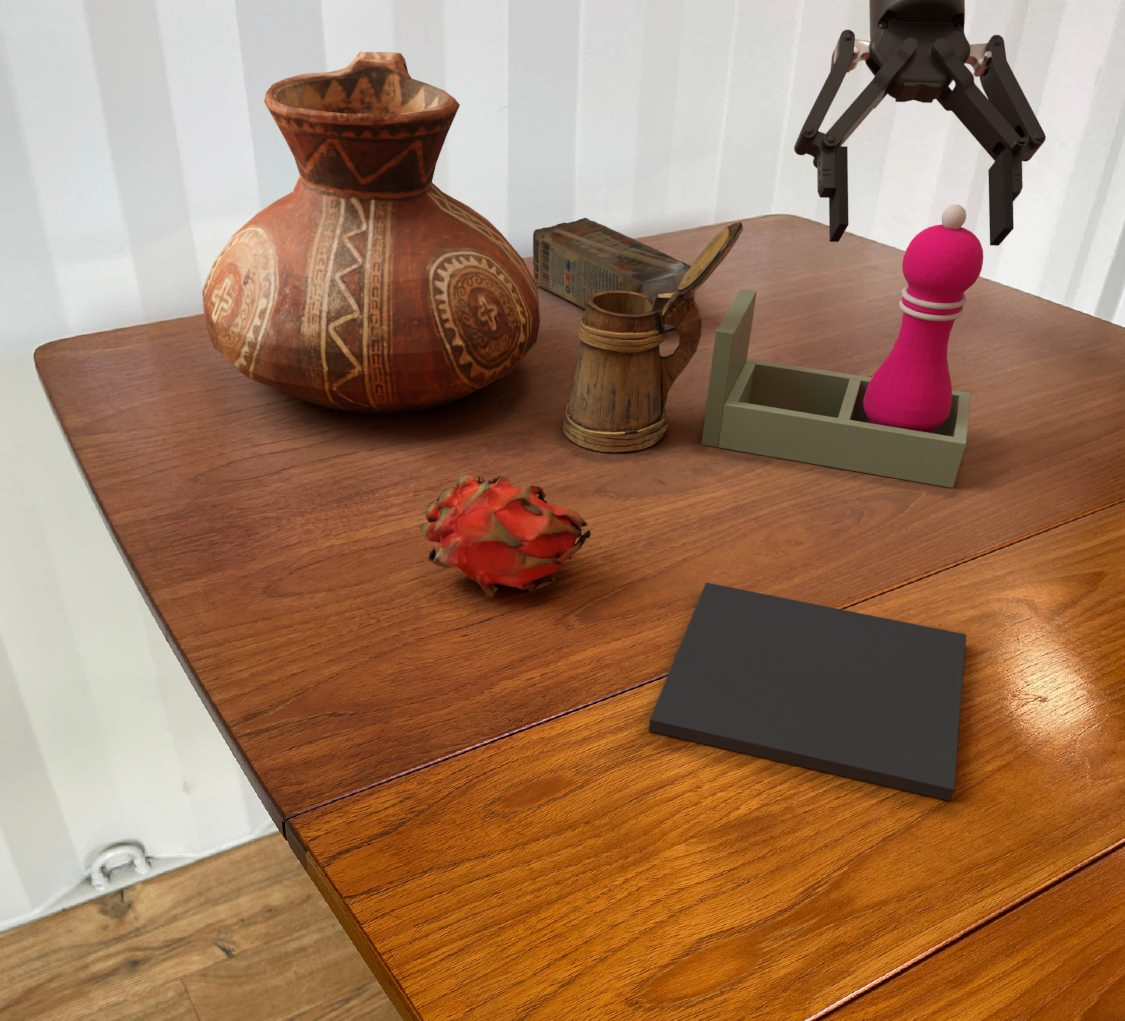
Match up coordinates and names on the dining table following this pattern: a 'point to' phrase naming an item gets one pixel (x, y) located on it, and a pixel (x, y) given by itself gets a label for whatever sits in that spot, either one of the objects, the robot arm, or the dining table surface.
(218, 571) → the dining table surface
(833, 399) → the spice rack
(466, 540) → the dragon fruit
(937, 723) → the mat
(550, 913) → the dining table surface
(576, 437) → the wooden mug
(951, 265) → the pepper mill
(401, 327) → the jug
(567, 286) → the beverage carton
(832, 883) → the dining table surface
